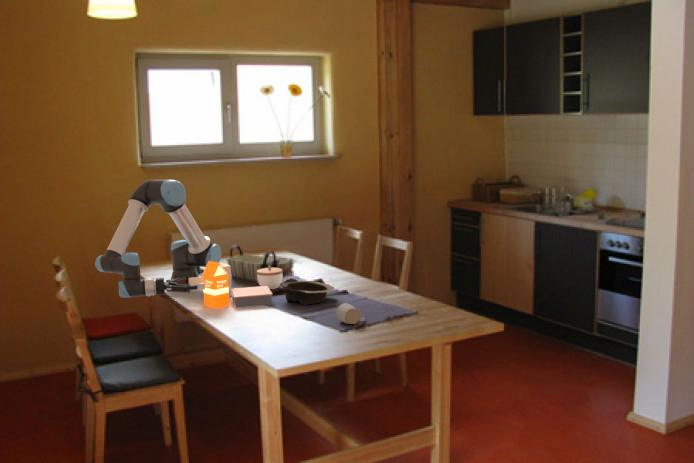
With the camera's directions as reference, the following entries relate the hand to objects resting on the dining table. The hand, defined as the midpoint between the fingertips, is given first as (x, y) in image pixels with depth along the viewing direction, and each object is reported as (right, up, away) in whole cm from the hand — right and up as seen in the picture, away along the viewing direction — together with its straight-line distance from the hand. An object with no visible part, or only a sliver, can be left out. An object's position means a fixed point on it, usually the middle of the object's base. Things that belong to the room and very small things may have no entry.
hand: (204, 283), depth 357 cm
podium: (+20, -9, +8) cm, 24 cm away
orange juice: (+5, -11, +4) cm, 12 cm away
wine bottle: (-20, 0, +75) cm, 77 cm away
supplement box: (+4, -8, +20) cm, 22 cm away
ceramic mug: (+66, -15, -31) cm, 74 cm away
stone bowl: (+46, -9, +8) cm, 48 cm away
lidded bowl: (+26, -5, +34) cm, 43 cm away
